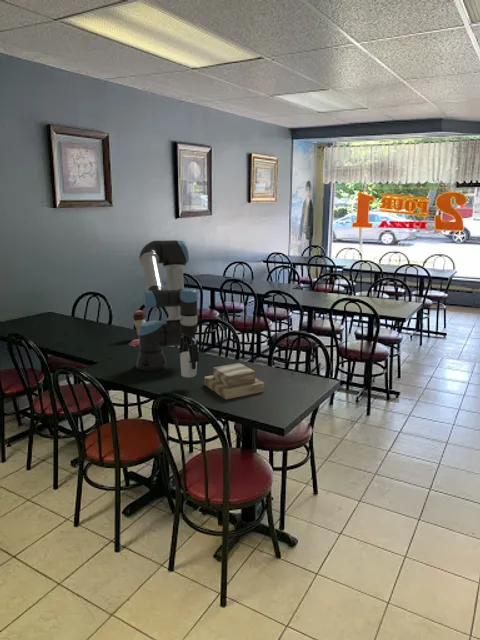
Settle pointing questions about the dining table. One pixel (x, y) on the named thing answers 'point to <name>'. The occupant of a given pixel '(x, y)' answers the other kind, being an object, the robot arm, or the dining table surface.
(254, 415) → the dining table surface
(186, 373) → the white cup
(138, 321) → the ice cream
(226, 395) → the oak riser
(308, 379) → the dining table surface
